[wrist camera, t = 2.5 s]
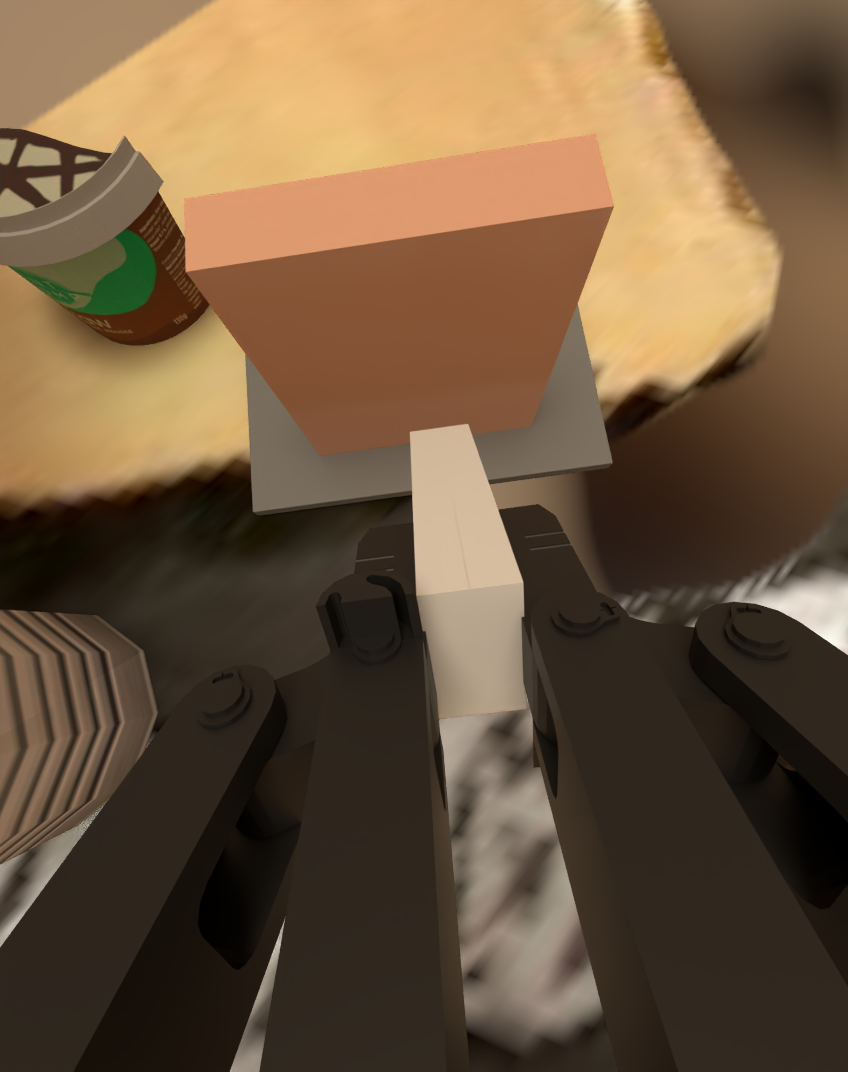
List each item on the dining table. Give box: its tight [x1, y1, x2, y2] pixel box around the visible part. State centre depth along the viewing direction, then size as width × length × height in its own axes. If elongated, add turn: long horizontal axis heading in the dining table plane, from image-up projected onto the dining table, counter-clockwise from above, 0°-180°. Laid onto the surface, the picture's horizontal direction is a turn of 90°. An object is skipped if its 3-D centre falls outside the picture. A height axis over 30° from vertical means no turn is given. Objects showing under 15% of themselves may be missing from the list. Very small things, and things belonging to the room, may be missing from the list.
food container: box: [0, 128, 210, 345], centre depth 26 cm, size 12×6×10 cm, turn 74°
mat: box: [245, 142, 612, 516], centre depth 29 cm, size 20×22×1 cm
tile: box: [184, 134, 614, 456], centre depth 20 cm, size 12×3×14 cm, turn 97°
